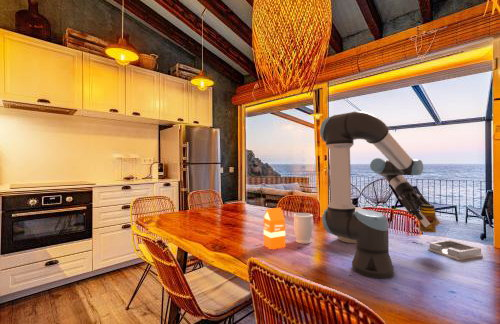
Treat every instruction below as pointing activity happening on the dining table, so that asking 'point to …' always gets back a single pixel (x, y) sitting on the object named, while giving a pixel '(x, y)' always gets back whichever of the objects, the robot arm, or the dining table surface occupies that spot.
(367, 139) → the robot arm
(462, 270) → the dining table surface
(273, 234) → the orange juice
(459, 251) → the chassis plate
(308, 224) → the jar
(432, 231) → the condiment
